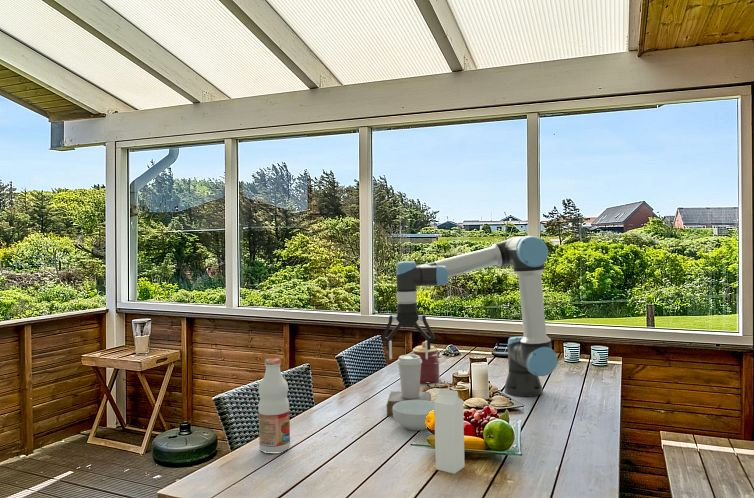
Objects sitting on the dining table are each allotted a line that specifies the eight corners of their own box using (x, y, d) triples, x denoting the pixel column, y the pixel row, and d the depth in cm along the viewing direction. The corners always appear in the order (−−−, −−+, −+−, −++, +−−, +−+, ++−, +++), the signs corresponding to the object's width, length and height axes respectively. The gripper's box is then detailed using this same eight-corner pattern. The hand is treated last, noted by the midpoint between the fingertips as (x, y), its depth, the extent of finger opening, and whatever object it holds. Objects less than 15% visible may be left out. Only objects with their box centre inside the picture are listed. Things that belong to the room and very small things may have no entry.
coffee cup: (421, 400, 203) (420, 359, 203) (395, 399, 205) (395, 359, 204) (424, 393, 212) (423, 354, 212) (400, 392, 214) (399, 353, 214)
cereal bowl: (408, 438, 178) (408, 416, 178) (384, 424, 193) (383, 404, 193) (451, 429, 186) (451, 408, 186) (425, 416, 201) (424, 396, 201)
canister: (407, 382, 249) (406, 343, 249) (416, 376, 261) (415, 338, 261) (435, 384, 244) (434, 345, 244) (443, 377, 256) (442, 340, 256)
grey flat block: (431, 404, 215) (430, 391, 215) (430, 416, 201) (430, 401, 201) (390, 404, 216) (389, 391, 216) (387, 415, 202) (386, 401, 202)
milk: (446, 462, 158) (444, 385, 158) (465, 467, 155) (463, 388, 155) (435, 469, 154) (433, 390, 154) (454, 474, 150) (452, 393, 150)
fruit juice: (259, 445, 176) (256, 357, 175) (289, 442, 178) (286, 355, 178) (260, 456, 167) (257, 363, 166) (291, 452, 169) (288, 361, 168)
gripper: (440, 300, 210) (441, 356, 211) (375, 301, 213) (376, 356, 213) (440, 302, 203) (441, 360, 203) (373, 304, 206) (374, 360, 206)
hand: (408, 358), depth 208 cm, fingers open, 13 cm apart
